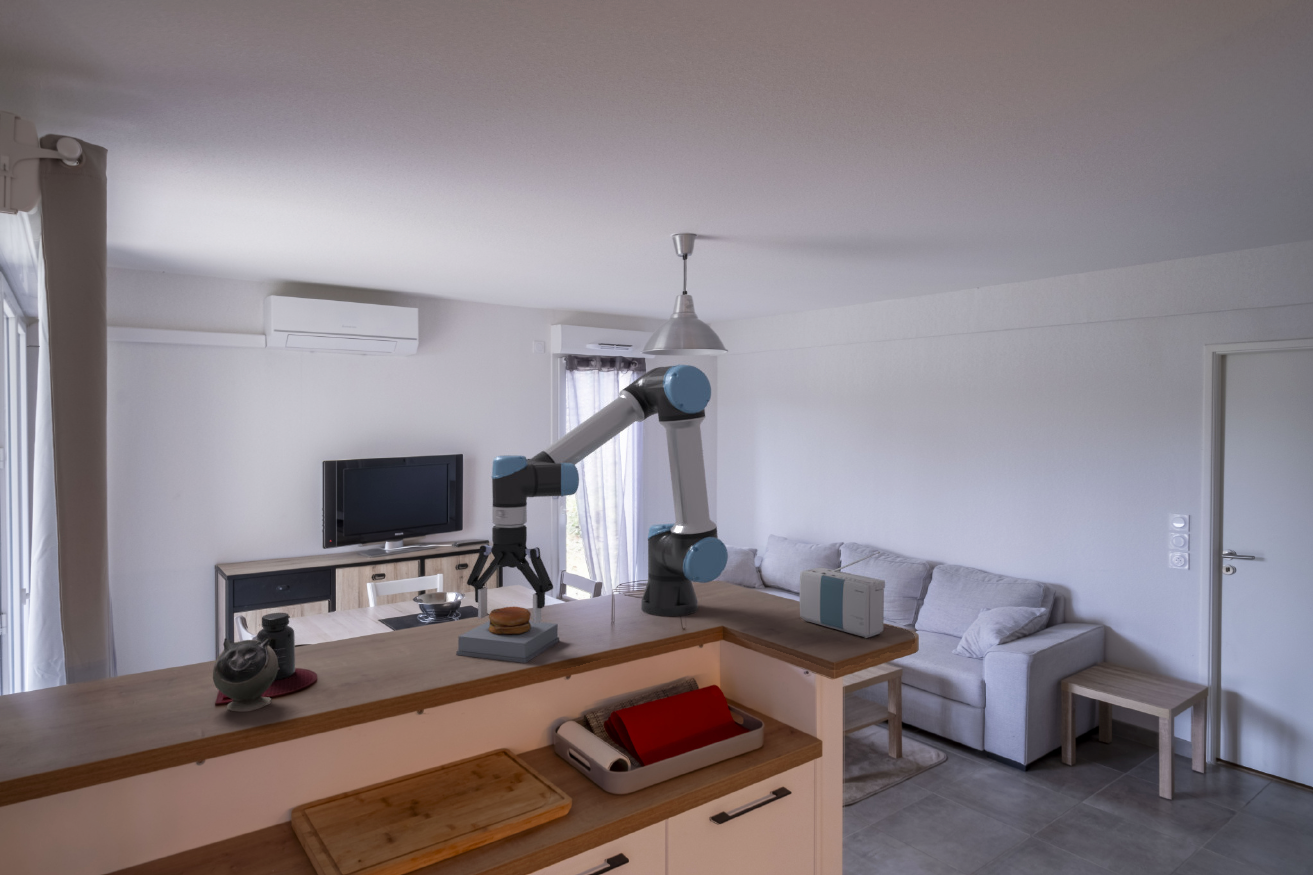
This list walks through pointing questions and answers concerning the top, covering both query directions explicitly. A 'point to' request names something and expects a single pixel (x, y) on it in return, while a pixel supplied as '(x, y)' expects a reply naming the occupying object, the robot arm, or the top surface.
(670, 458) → the robot arm
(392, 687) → the top surface
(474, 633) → the stacking base
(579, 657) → the top surface
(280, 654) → the supplement bottle
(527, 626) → the burger
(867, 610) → the stereo radio cassette player
